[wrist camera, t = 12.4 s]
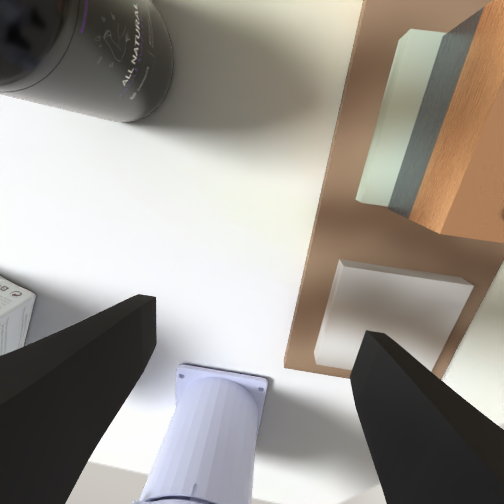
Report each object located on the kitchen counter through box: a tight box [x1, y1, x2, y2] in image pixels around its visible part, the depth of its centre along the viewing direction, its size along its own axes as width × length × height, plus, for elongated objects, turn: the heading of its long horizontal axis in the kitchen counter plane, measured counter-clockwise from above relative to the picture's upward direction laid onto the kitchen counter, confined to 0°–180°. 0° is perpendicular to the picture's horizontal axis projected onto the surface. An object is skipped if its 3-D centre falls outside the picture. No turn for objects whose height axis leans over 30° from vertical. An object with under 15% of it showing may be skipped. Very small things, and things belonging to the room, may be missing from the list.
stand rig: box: [284, 0, 504, 380], centre depth 16 cm, size 24×12×2 cm, turn 173°
